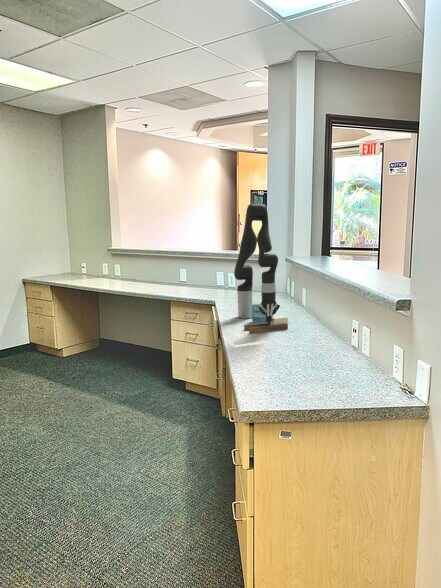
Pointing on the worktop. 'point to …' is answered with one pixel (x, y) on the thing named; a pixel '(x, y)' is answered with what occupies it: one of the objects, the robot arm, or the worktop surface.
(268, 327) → the walnut chute
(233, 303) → the worktop surface
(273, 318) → the sand block
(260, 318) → the blue labeled box
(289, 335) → the worktop surface
